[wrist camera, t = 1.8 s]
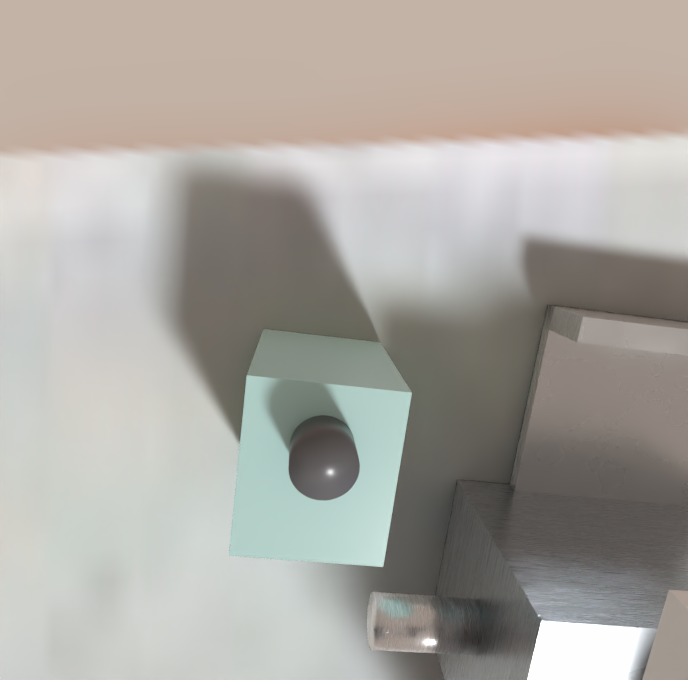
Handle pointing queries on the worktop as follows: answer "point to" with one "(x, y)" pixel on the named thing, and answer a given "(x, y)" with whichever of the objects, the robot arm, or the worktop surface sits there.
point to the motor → (567, 518)
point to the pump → (318, 450)
